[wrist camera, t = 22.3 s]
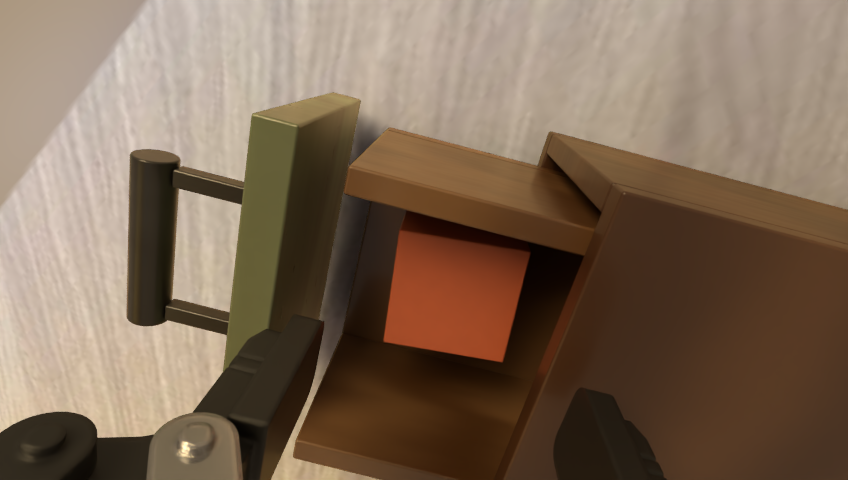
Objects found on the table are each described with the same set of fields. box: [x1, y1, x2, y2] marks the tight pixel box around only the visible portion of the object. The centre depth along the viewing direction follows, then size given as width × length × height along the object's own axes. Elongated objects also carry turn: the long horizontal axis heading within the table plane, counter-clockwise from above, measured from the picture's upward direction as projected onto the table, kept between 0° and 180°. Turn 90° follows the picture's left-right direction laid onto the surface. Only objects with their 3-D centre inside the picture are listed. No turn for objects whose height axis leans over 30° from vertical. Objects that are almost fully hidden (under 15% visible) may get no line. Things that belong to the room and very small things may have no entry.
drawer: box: [127, 92, 602, 480], centre depth 17 cm, size 18×11×8 cm, turn 76°
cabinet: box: [494, 132, 848, 480], centre depth 18 cm, size 15×13×10 cm
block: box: [383, 210, 531, 362], centre depth 18 cm, size 4×4×4 cm
